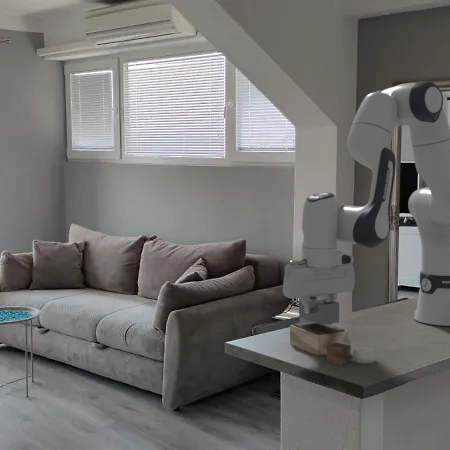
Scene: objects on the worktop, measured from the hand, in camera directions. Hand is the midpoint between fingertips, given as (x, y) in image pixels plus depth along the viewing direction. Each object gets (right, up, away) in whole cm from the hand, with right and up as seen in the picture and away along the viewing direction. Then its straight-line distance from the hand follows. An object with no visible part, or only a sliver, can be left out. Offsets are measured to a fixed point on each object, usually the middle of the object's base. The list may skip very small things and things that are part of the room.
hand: (318, 312), depth 176 cm
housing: (0, -2, 0) cm, 2 cm away
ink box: (+1, -8, +17) cm, 18 cm away
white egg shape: (+9, -10, -10) cm, 17 cm away
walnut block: (+3, -11, -11) cm, 15 cm away
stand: (0, -9, +1) cm, 9 cm away
